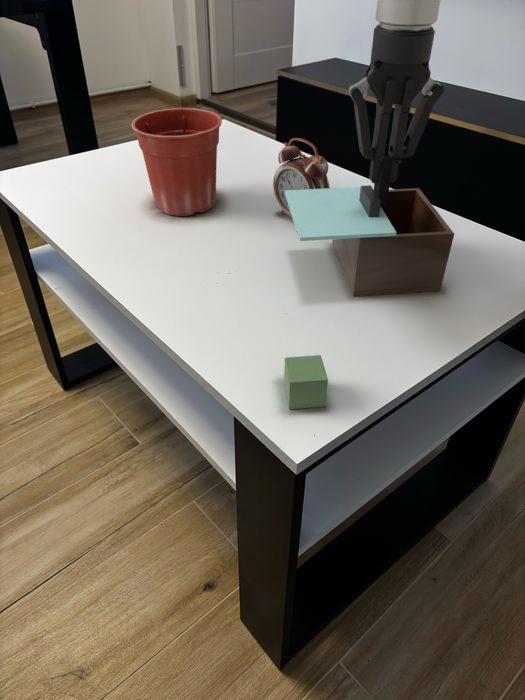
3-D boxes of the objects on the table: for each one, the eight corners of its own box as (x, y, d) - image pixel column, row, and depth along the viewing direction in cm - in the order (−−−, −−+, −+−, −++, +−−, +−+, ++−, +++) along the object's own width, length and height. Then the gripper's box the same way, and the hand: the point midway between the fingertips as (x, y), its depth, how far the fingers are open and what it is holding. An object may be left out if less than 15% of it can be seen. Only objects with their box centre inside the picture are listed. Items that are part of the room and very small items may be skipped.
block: (325, 406, 66) (328, 379, 63) (288, 409, 65) (289, 382, 63) (318, 381, 69) (321, 354, 66) (283, 383, 69) (284, 357, 66)
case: (440, 291, 85) (454, 233, 78) (352, 296, 84) (360, 238, 77) (408, 241, 97) (419, 188, 91) (332, 245, 96) (336, 191, 89)
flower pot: (133, 196, 112) (119, 115, 101) (206, 180, 118) (200, 102, 107) (161, 229, 101) (149, 142, 90) (240, 210, 107) (237, 126, 96)
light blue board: (396, 236, 78) (399, 216, 76) (299, 241, 77) (300, 221, 75) (367, 189, 90) (370, 172, 88) (284, 193, 89) (285, 176, 87)
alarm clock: (271, 213, 106) (271, 135, 96) (288, 205, 108) (290, 128, 99) (313, 232, 100) (318, 150, 90) (329, 223, 102) (336, 143, 93)
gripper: (444, 18, 71) (413, 190, 86) (347, 20, 70) (332, 193, 85) (467, 29, 65) (428, 211, 80) (361, 31, 64) (342, 215, 79)
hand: (379, 201), depth 83 cm, fingers closed
